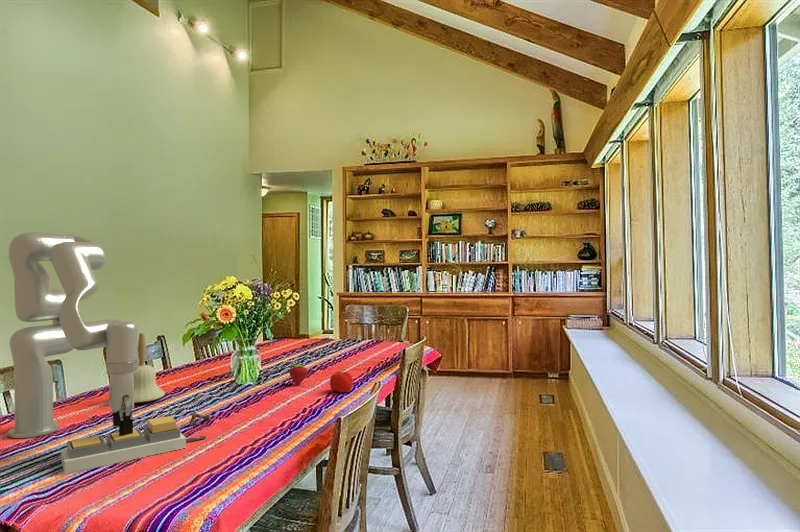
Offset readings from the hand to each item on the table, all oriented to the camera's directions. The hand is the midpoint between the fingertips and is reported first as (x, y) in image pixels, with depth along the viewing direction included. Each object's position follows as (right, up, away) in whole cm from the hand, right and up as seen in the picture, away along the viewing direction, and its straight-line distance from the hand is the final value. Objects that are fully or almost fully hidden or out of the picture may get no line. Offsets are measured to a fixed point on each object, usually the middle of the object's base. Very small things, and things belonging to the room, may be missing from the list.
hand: (122, 429), depth 141 cm
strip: (+6, -5, -2) cm, 8 cm away
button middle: (+3, -2, -4) cm, 5 cm away
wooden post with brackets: (+12, -6, +23) cm, 26 cm away
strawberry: (+34, -5, +74) cm, 81 cm away
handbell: (-19, -5, +49) cm, 53 cm away
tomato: (+53, -5, +63) cm, 83 cm away
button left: (-4, -2, -9) cm, 10 cm away
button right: (+10, 0, +2) cm, 10 cm away
